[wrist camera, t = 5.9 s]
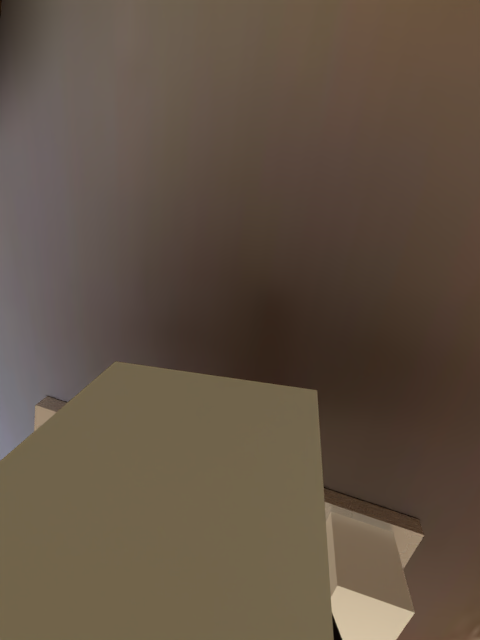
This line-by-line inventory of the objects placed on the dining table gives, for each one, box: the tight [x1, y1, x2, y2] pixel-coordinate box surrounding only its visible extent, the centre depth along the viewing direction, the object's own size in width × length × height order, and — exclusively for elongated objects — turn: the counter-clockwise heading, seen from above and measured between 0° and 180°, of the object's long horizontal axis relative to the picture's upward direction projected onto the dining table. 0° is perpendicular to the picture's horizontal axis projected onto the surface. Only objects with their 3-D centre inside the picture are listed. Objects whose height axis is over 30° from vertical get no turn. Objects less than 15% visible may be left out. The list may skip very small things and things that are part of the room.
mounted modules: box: [326, 512, 415, 640], centre depth 20 cm, size 20×9×4 cm, turn 76°
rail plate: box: [34, 396, 424, 568], centre depth 22 cm, size 23×10×2 cm, turn 76°
